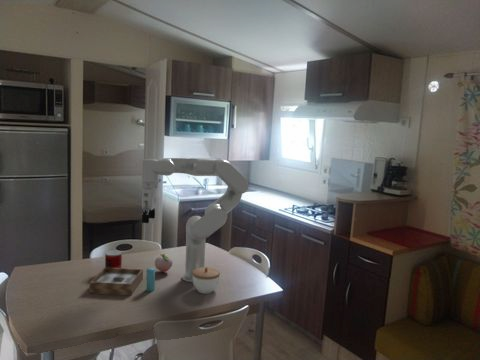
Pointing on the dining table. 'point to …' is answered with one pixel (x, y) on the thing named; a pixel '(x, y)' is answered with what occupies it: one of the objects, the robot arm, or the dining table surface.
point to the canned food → (113, 259)
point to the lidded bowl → (205, 279)
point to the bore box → (116, 281)
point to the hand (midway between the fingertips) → (148, 220)
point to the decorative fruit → (163, 263)
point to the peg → (150, 279)
